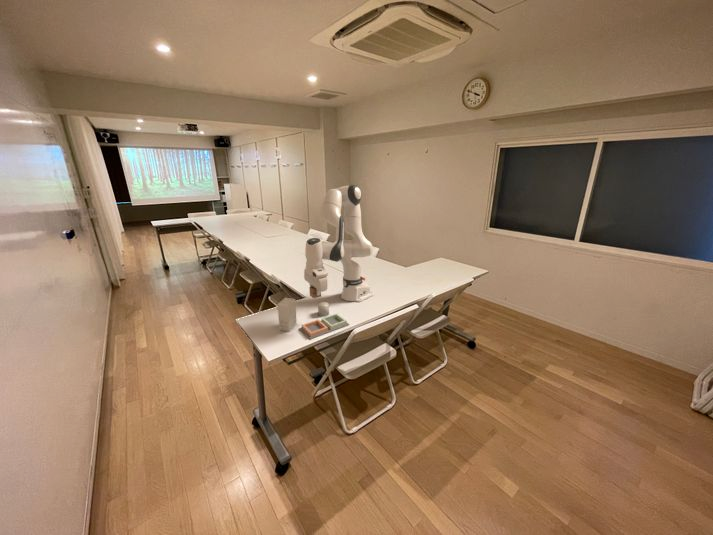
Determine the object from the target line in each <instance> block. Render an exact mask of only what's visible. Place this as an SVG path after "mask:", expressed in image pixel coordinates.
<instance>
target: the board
mask: <svg viewBox="0 0 713 535" xmlns="http://www.w3.org/2000/svg"><path fill="white" fill-rule="evenodd" d="M347 321H348V320H346V319H345V318H344V317H343V316H341V315H340V314H339V313H334V314H331V315H330V314H329V315H327V316H323V317H321V320H320V319H316V320H312V321H310V322H307V323H304V324H301V327H299V330H300V331H301V332H302V333H303V334H304V335H305V336H306V338H308V339H309V340H313V339H316V338H318V337H321V336H324V335H327V334H329V333H332V332H334V331H337V330H339V329H342V328H343V329H344V328H345V327H347V326H350V323H348V322H347Z"/></svg>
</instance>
